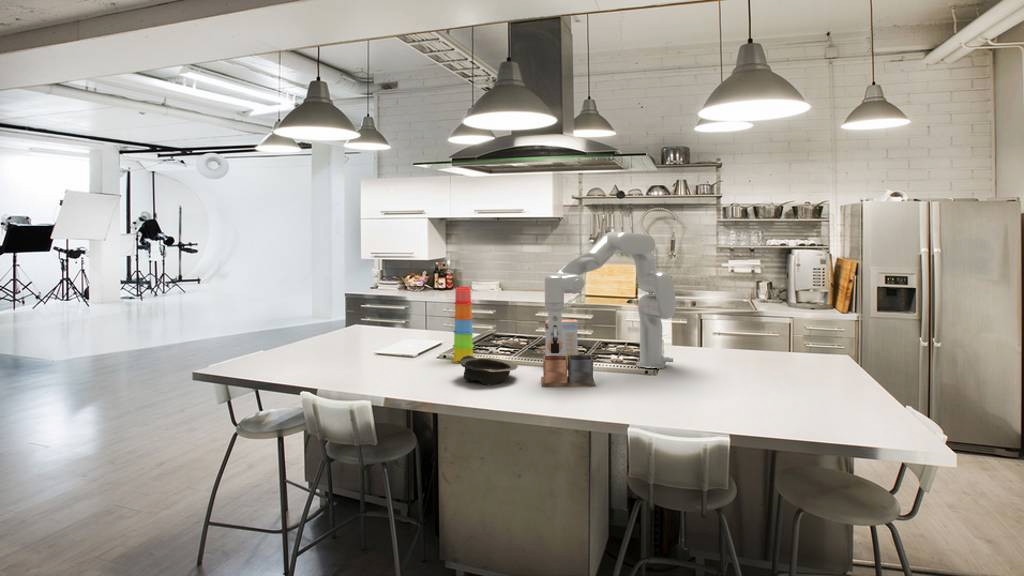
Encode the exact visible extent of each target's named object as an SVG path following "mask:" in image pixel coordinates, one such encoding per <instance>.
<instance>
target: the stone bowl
mask: <svg viewBox="0 0 1024 576" xmlns="http://www.w3.org/2000/svg"><path fill="white" fill-rule="evenodd" d="M456 362H458V363H457V364H460V365H461V367H463V368H464V372H463V379H464V381H466V382H476V381H480V382H481V384H482V385H485V384H487V386H489V385H488V384H491V385H493V384H494V385H497V383H498V384H500V383H502V382H506V380H507V379H508V377H509V375H510V373H511V371H515V370H517V368H518V367H519V366H518V364H517V363H515V362H514V363H513V362H512V361H508V360H504V359H500V358H495V357H494V358H493V357H480V358H477V357H475V356H474V355H473V356H469V355H468V356H464V357H463V358H462V359H461V360H460V361H456Z"/></svg>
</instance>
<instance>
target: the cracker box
mask: <svg viewBox="0 0 1024 576" xmlns="http://www.w3.org/2000/svg"><path fill="white" fill-rule="evenodd" d="M544 323H545V324H544V325H545V327H544V328H545V334H544V335H545V336H544V337H545V355H566V357H567V369H568V355H579V354H578V352H579V351H578V349H579V348H578V347H579V346H578V345H579V344H578V320H577V319H562V336H560V335H559V334H558V336H559V337H558V338H559V340H560V341H561V342H562V349H561V350H560V351H559V353H558V354H552V353H551V352H550V351H549V350H548V348H547V343H548V341H549V340H550V339H551V336H550V334H549V327H548V319H545V322H544Z"/></svg>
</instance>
